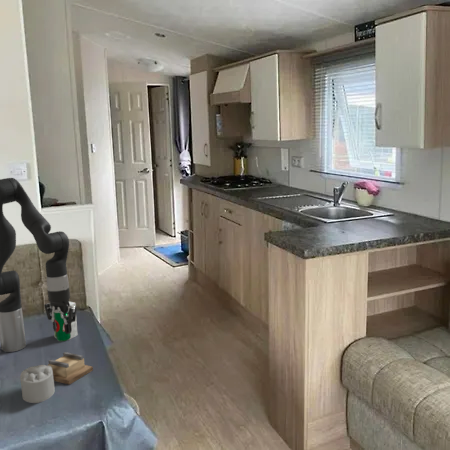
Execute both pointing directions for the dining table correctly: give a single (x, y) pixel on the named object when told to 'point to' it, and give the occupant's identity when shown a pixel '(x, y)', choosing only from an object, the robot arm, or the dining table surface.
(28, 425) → the dining table surface
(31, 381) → the white cylindrical tub
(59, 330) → the soda can
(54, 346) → the dining table surface
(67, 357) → the display stand
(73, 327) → the skincare box
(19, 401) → the dining table surface
